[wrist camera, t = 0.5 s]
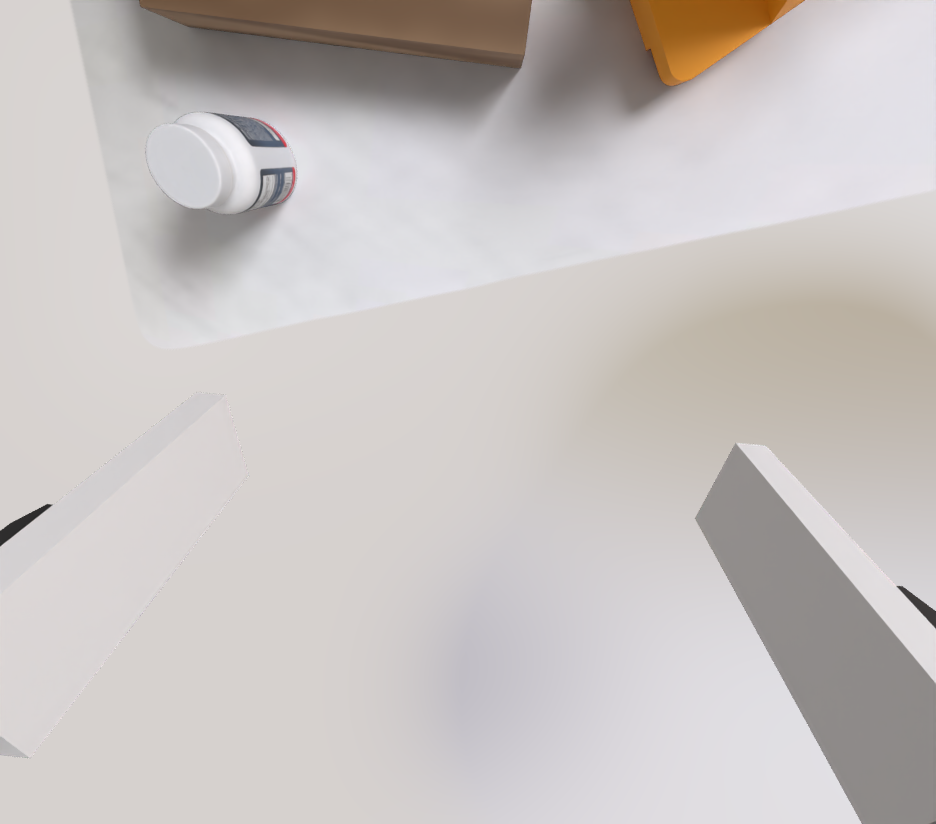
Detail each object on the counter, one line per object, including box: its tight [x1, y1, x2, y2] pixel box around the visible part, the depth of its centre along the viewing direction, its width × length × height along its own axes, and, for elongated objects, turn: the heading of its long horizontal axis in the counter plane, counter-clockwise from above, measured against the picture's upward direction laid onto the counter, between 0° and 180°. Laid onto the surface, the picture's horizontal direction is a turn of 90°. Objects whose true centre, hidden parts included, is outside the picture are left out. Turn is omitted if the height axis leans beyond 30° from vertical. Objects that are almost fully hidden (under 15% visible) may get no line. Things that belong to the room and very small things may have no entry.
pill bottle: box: [145, 112, 297, 214], centre depth 25 cm, size 5×5×9 cm
